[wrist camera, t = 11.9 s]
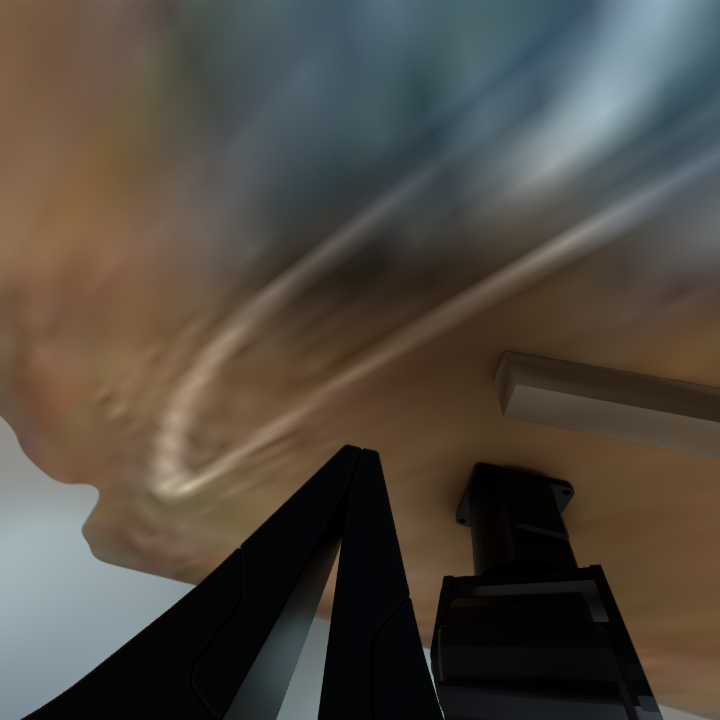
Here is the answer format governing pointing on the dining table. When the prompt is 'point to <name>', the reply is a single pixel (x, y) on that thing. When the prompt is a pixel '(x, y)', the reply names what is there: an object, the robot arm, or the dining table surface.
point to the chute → (611, 403)
